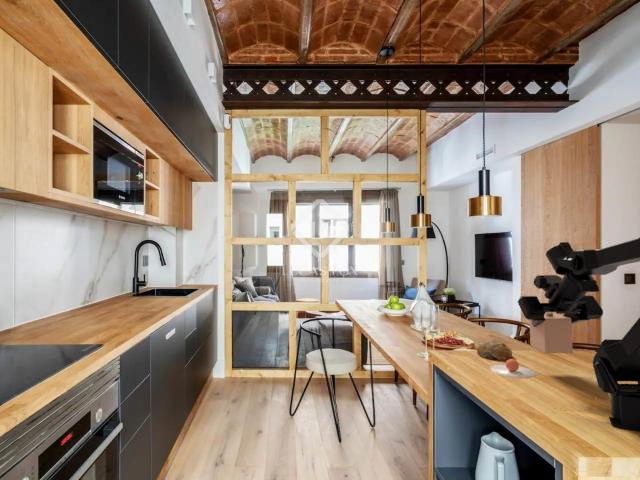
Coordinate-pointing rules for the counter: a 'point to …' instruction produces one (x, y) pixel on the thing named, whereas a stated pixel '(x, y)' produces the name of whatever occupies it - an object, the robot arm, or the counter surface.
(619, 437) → the counter surface
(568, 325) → the pink knobbed box
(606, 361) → the robot arm
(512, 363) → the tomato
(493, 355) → the bread roll
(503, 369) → the plate
